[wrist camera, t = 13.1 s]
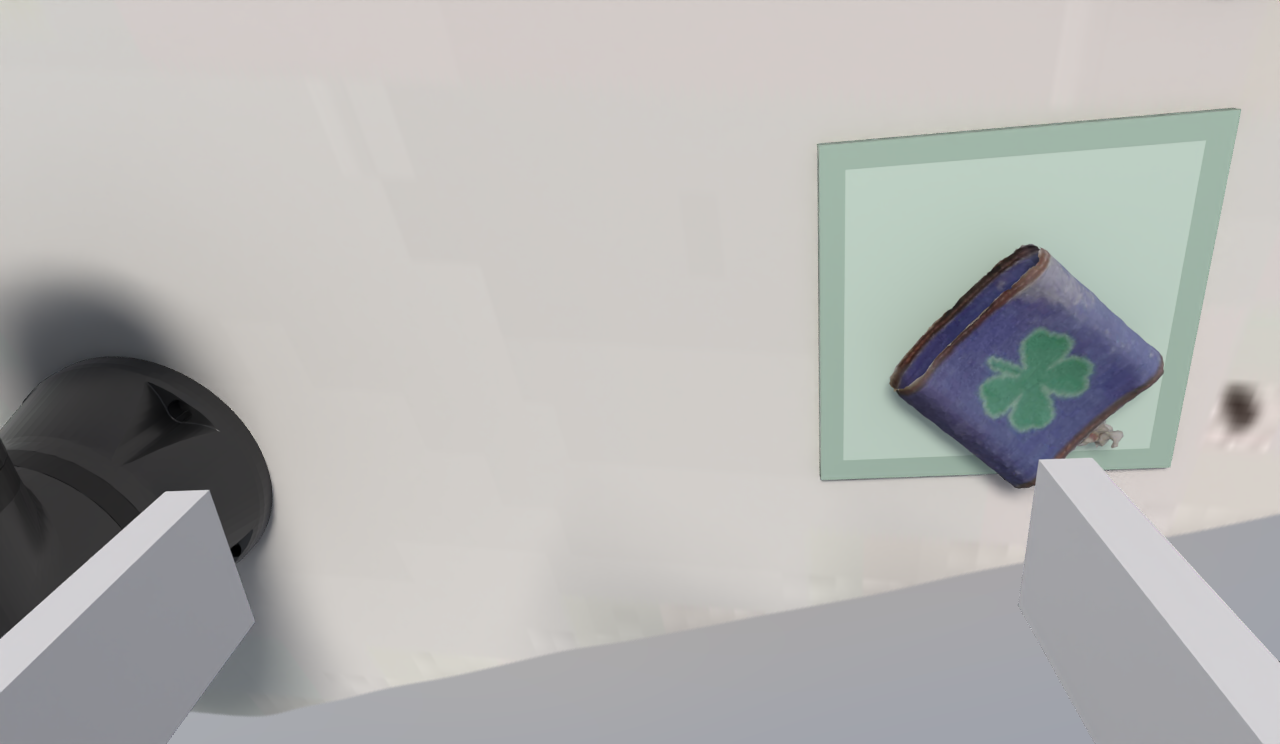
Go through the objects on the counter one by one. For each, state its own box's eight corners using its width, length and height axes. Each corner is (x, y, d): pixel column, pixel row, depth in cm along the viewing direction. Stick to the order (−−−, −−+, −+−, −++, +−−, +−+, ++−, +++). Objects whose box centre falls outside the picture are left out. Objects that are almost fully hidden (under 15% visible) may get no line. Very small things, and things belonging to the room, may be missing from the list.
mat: (819, 474, 44) (820, 480, 44) (817, 143, 37) (819, 145, 36) (1164, 461, 42) (1170, 467, 41) (1232, 107, 35) (1241, 109, 34)
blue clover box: (1049, 249, 34) (1203, 388, 37) (1020, 233, 37) (1165, 364, 39) (896, 400, 37) (1047, 519, 40) (880, 374, 40) (1022, 488, 42)
